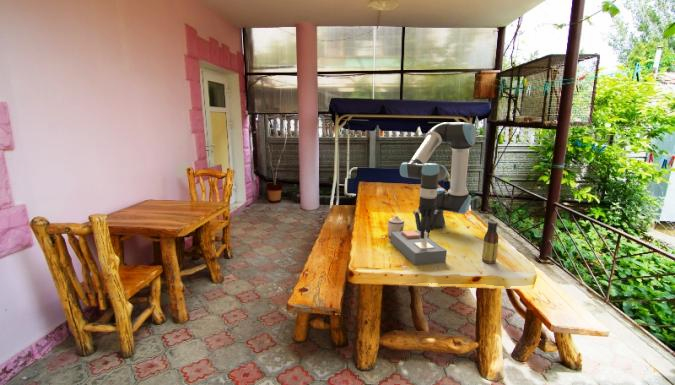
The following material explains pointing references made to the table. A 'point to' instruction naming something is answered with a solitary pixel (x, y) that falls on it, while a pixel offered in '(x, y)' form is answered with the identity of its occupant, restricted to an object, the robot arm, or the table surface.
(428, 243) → the ivory key
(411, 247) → the key box
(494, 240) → the sauce bottle
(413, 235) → the terracotta key
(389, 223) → the teacup with lid
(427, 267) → the table surface
